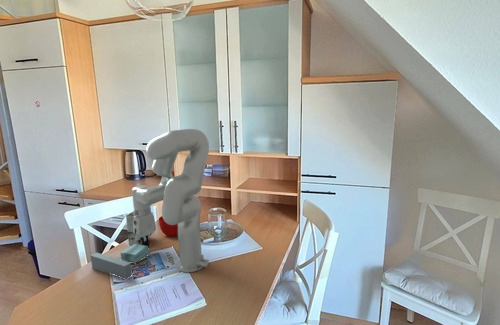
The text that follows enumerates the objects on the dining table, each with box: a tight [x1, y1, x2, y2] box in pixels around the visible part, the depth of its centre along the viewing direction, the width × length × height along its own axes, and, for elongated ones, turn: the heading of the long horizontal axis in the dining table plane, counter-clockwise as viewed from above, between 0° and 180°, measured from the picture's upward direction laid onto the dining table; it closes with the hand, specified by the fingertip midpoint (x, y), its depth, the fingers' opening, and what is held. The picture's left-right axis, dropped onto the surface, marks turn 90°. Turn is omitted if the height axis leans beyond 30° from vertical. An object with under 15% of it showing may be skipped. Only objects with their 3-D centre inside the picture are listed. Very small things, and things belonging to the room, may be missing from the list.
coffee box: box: [125, 210, 142, 246], centre depth 153 cm, size 9×6×16 cm
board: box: [90, 252, 133, 280], centre depth 123 cm, size 22×3×6 cm, turn 62°
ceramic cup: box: [158, 215, 178, 238], centre depth 160 cm, size 13×17×10 cm
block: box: [120, 244, 150, 263], centre depth 135 cm, size 8×9×5 cm
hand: (146, 247), depth 140 cm, fingers closed
